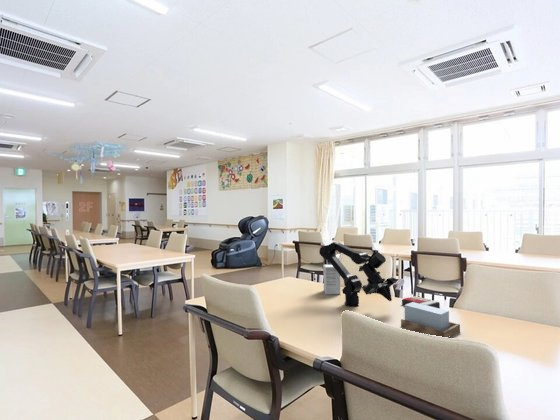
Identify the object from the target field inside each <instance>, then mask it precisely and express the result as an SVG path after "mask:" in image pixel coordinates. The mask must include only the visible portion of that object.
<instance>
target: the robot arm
mask: <svg viewBox="0 0 560 420" xmlns="http://www.w3.org/2000/svg"><path fill="white" fill-rule="evenodd" d="M318 251H319V256H321V258H323V259H324V260H327V261H328V262H329V264H330V265H333V267H334V268H335V269H336V271H337V272H338V273H339V274H340V278H341V279H342V280H343V283H344V284H343V285H344V287H343V288H342V289H341V291H342V294H343V295H345V297H344V299H345V301H344V304H345V306H346V307H359V304H360V299H359V298H360V297H359V295H358V293H359V294H360V293H361V290H363V292H364V293H365V295H367V296H368V295H372V294H379V295H381V296H382V297H383V298H385V299H386V300H387V301H389V302H391V301H392V300H393V298H392V293H391V287H392V286H393V285H394V284H395V283H396V282H397V280H396V278H395V277H391V276H390V277H388V278H387V279H385V278H382V276H381V272H380V271H378V270H377V269H379V268H381V266H382V265H383V264H385V262H387V259H386V257H385V256H384V255H383V254H381V253H379V251H378V250H377V251H374V252H373V253H372V254H371V255H369V254H368V253H367V252H364V251H361V250H360V251H359V250H356V249H354V248H351V247H348V246H347V245H345V244H342V243H341V242H339V241H333V242H331V243H329V244H327V245H325V246H320V247H319V250H318ZM336 252H339V253H341V254H342V255H345V256H347V257H348V258H349V259H350V260H351V261H352V262H353V263H354V264H356V265H360V266H359V268H358V269H359V270H358V272H363V273H364V275H365V276H366V277H367V279H366V281H367V283H366V284H364V285H363V284H362V280H361V279H360V278H359V276H357V275H356V274H353V275H352V274H351V273H350V272H349V271H348V269H347V268H346V266H344V264H343V263H342V262H341V261H340V259H339V258H338V257H337V254H336Z"/></svg>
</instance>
